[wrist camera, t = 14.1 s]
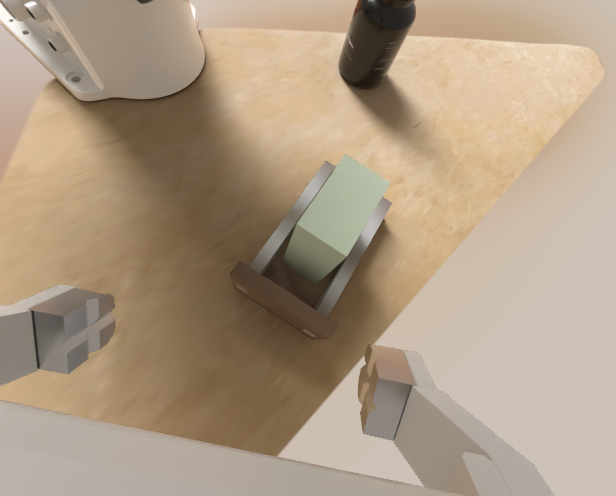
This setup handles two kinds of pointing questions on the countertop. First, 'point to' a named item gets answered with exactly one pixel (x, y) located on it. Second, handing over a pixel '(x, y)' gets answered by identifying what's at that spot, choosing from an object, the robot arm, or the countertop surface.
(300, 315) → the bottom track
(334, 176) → the pale green block
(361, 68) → the supplement bottle
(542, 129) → the countertop surface
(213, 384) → the countertop surface
